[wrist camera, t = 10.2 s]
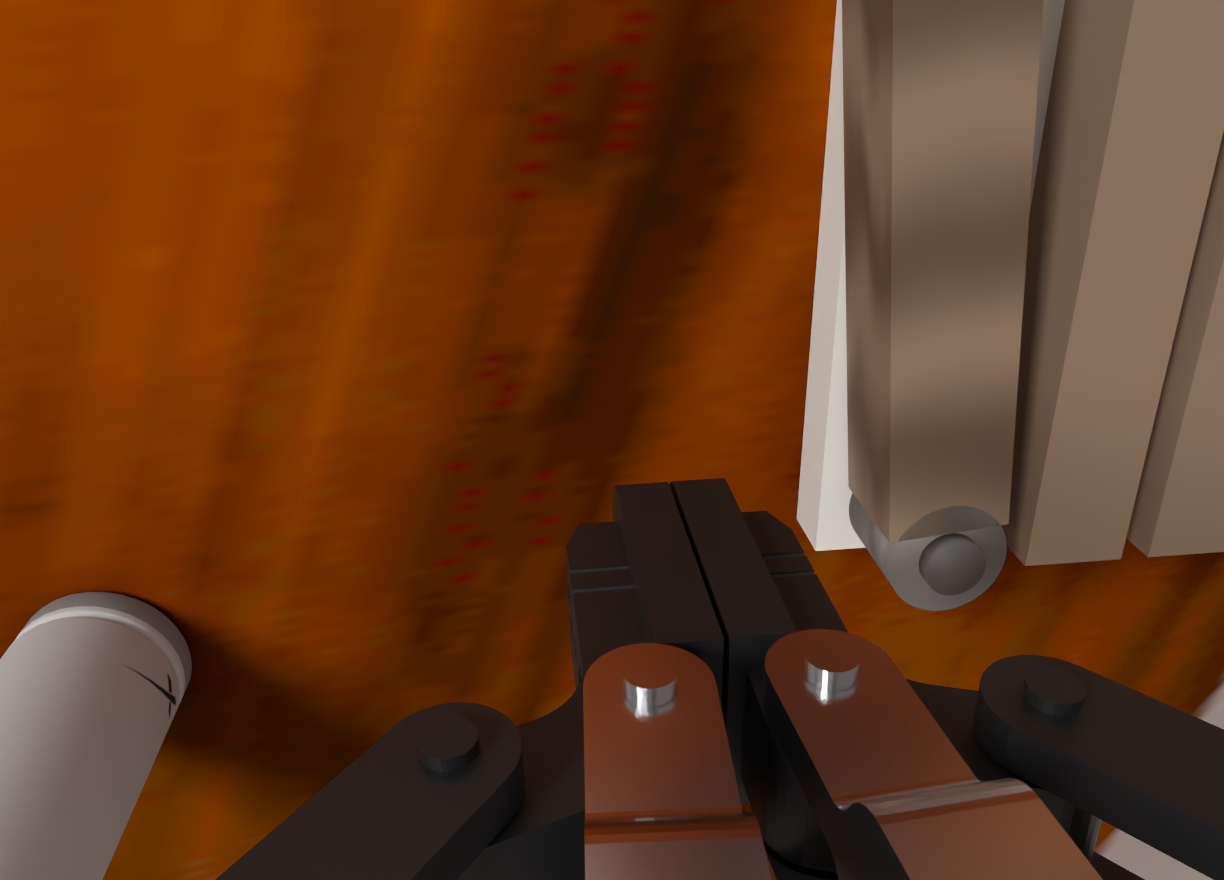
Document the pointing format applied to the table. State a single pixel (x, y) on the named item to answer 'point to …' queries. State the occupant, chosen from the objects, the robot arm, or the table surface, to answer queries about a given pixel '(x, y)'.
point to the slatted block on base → (1085, 295)
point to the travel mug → (82, 730)
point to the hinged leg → (936, 280)
